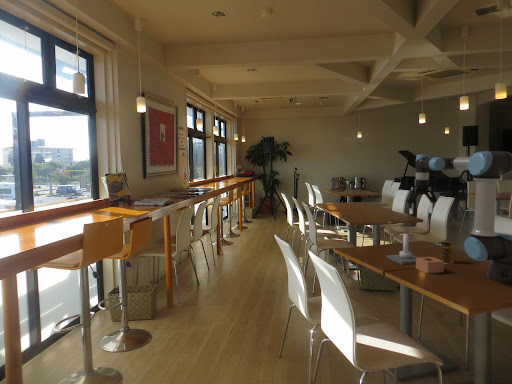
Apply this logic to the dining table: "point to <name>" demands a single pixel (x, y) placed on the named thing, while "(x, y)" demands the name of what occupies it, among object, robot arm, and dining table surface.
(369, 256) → the dining table surface
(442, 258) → the condiment
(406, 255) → the post stand
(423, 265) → the collar
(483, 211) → the robot arm
